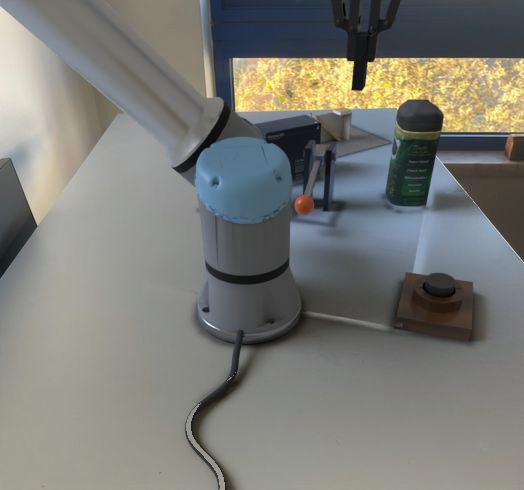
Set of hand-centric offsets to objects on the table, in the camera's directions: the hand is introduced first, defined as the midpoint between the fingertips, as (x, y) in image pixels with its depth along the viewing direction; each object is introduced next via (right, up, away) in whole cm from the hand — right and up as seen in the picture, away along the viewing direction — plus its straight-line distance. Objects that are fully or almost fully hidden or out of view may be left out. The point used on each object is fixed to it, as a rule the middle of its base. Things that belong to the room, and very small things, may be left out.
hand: (358, 87), depth 71 cm
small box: (-8, +1, +42) cm, 43 cm away
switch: (-4, -7, +22) cm, 23 cm away
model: (+3, +16, +59) cm, 61 cm away
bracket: (-3, -9, +30) cm, 31 cm away
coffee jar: (+15, -6, +33) cm, 37 cm away
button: (+12, -28, +2) cm, 30 cm away
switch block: (+12, -30, +5) cm, 33 cm away
